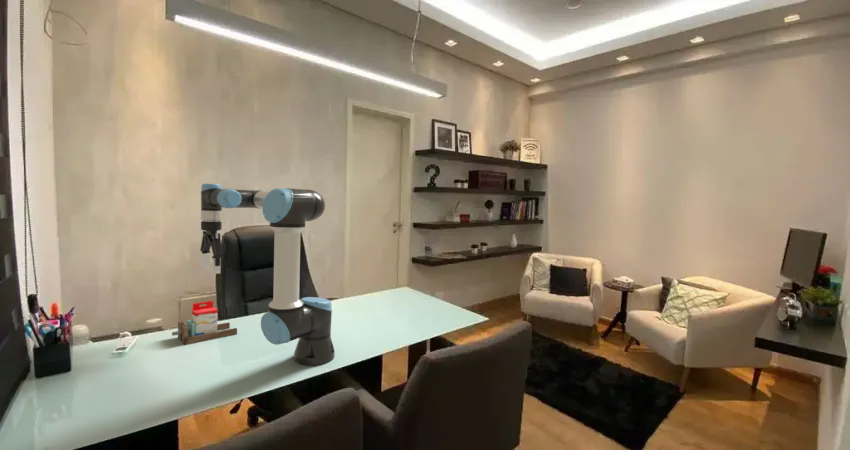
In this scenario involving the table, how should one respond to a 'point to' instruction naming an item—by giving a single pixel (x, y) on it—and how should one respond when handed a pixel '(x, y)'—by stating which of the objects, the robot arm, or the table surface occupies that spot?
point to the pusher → (190, 329)
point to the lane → (207, 336)
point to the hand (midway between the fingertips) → (211, 271)
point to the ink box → (204, 318)
